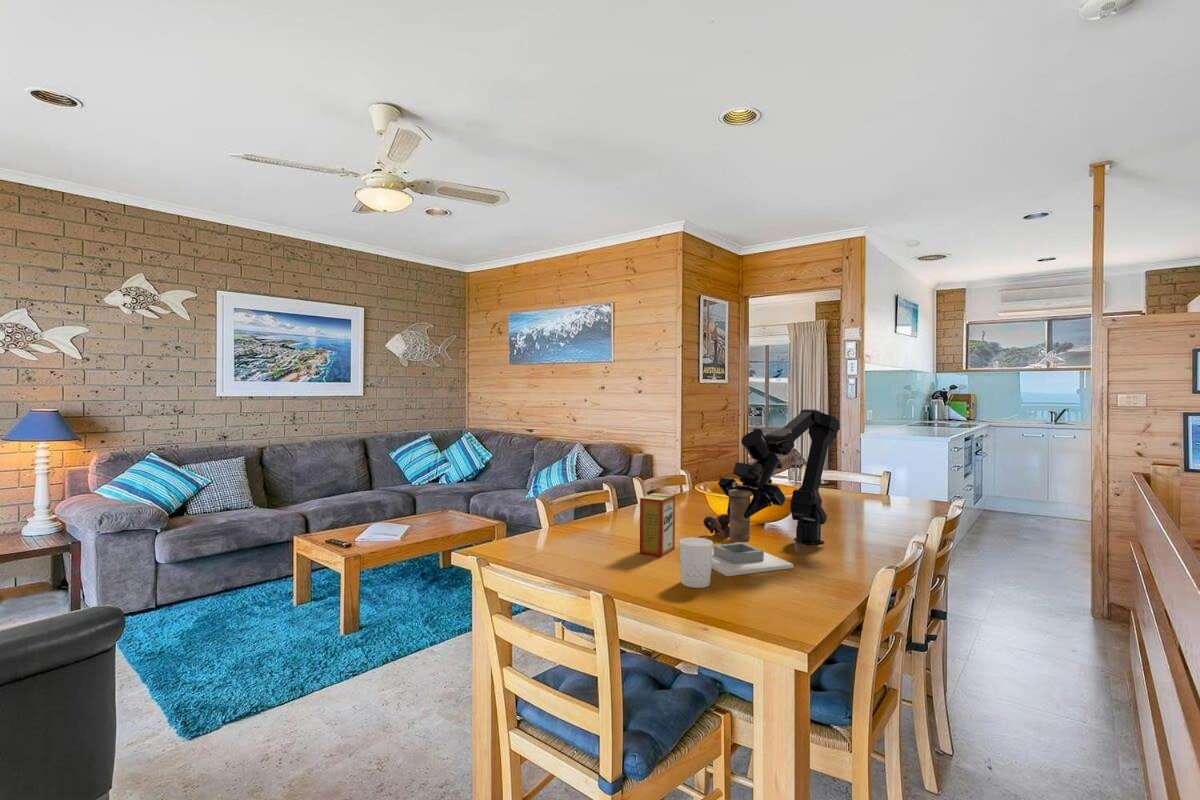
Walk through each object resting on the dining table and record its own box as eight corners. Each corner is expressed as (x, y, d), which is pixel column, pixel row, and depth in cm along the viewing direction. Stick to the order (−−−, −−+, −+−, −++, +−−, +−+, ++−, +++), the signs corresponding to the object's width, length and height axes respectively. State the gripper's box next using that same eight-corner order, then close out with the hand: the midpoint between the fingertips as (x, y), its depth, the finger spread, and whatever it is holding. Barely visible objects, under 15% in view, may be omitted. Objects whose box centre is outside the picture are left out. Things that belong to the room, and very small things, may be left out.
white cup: (689, 576, 148) (690, 535, 148) (718, 583, 143) (719, 541, 143) (672, 584, 142) (672, 542, 142) (701, 591, 137) (702, 547, 137)
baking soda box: (661, 557, 164) (661, 499, 164) (639, 554, 167) (640, 496, 167) (674, 549, 172) (675, 493, 172) (653, 546, 176) (654, 491, 175)
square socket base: (747, 548, 174) (747, 536, 174) (793, 567, 155) (793, 554, 155) (686, 555, 166) (686, 542, 166) (727, 576, 148) (727, 562, 148)
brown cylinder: (750, 537, 163) (750, 489, 163) (751, 543, 157) (752, 493, 157) (727, 536, 164) (728, 488, 164) (728, 542, 158) (729, 492, 158)
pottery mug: (741, 536, 190) (746, 516, 186) (733, 555, 183) (737, 536, 179) (705, 523, 195) (709, 503, 190) (695, 541, 187) (699, 522, 183)
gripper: (722, 448, 170) (695, 492, 163) (779, 454, 155) (752, 502, 148) (739, 473, 175) (714, 516, 168) (796, 482, 160) (771, 529, 154)
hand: (736, 515), depth 159 cm, fingers closed on brown cylinder, 5 cm apart
